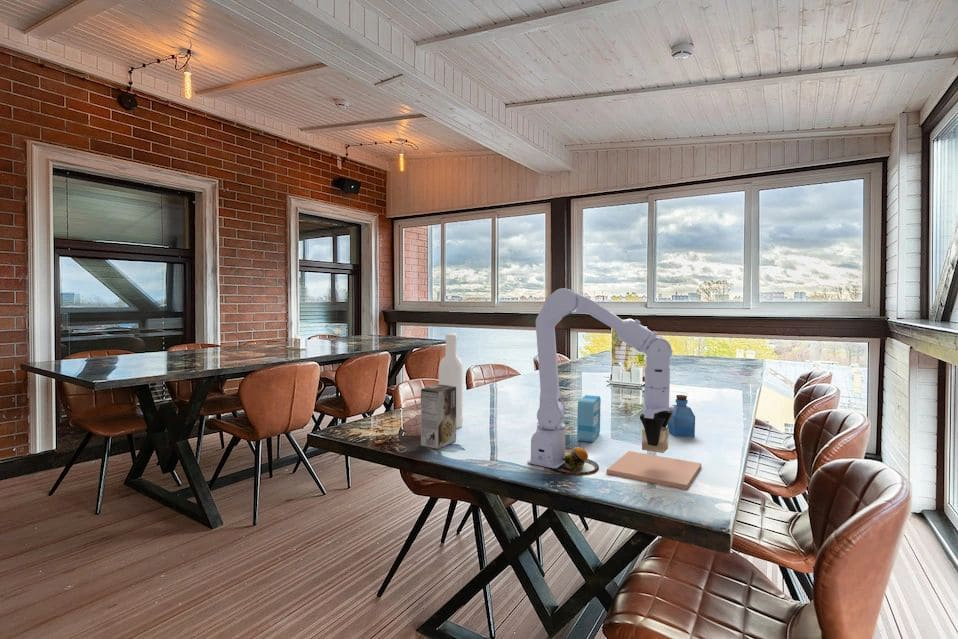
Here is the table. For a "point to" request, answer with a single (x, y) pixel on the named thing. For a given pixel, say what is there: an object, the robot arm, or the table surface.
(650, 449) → the birch cube
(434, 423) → the coffee box
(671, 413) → the robot arm
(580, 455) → the burger
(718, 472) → the table surface
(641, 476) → the terracotta tile
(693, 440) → the table surface
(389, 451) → the table surface
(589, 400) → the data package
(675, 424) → the perfume bottle
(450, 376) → the bottle
